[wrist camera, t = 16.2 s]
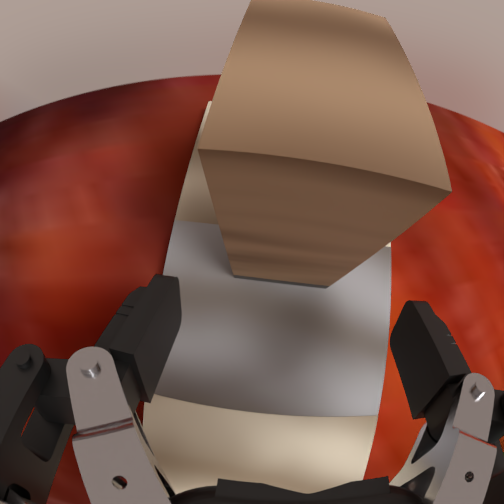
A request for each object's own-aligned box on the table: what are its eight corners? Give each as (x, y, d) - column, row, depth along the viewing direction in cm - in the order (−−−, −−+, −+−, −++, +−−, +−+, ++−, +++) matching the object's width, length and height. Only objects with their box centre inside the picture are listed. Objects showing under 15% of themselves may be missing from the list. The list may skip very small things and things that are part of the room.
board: (337, 529, 11) (341, 538, 10) (147, 511, 12) (141, 519, 10) (372, 133, 20) (378, 123, 19) (210, 111, 20) (208, 100, 19)
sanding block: (326, 288, 15) (451, 191, 5) (234, 277, 15) (197, 148, 5) (329, 165, 17) (385, 17, 7) (253, 154, 18) (253, -6, 7)
